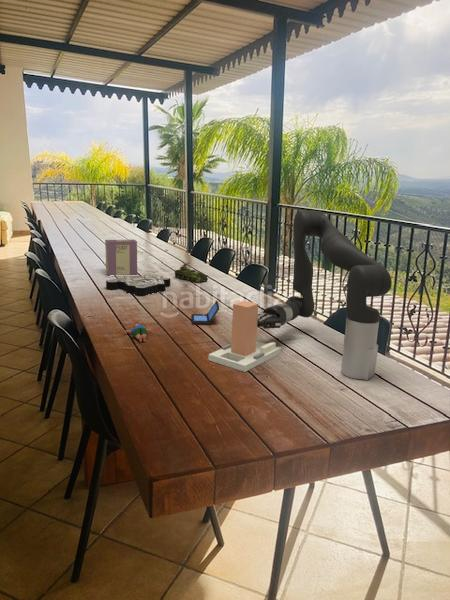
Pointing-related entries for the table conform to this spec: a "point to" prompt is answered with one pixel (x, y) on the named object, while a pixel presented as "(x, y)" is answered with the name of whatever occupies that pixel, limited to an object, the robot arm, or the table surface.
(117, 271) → the box
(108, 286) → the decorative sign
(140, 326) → the toy character
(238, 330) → the block
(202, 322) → the object
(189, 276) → the toy vehicle
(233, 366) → the white stand base
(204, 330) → the table surface
